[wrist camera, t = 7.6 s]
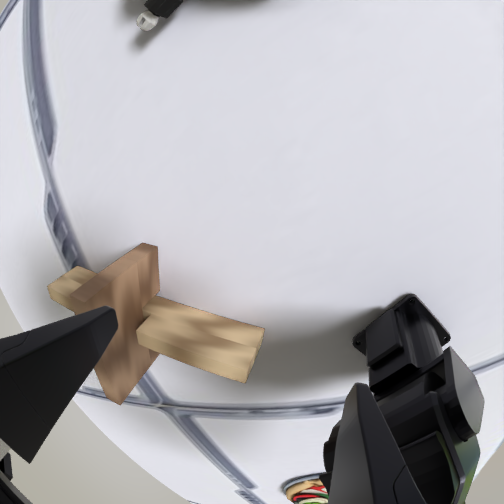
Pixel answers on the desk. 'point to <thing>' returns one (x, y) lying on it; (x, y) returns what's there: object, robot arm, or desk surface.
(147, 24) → the robot toy
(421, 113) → the desk surface
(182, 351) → the oak board
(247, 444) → the desk surface
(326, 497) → the toy pizza
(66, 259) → the desk surface
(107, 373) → the brown tapered flat block
